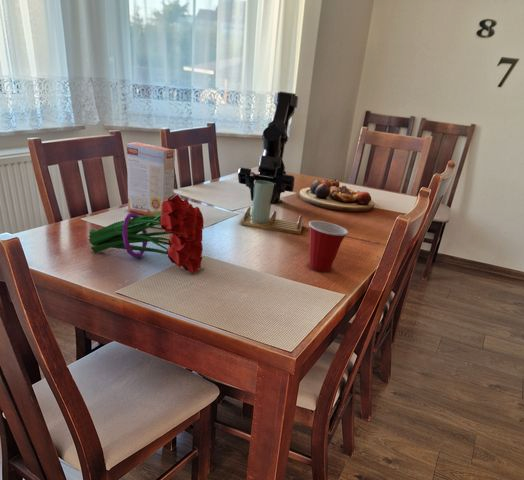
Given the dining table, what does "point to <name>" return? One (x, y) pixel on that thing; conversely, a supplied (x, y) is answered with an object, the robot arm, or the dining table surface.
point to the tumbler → (262, 201)
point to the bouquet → (172, 222)
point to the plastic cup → (324, 244)
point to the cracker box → (149, 177)
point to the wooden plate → (336, 196)
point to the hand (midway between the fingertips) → (261, 201)
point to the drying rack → (274, 223)
